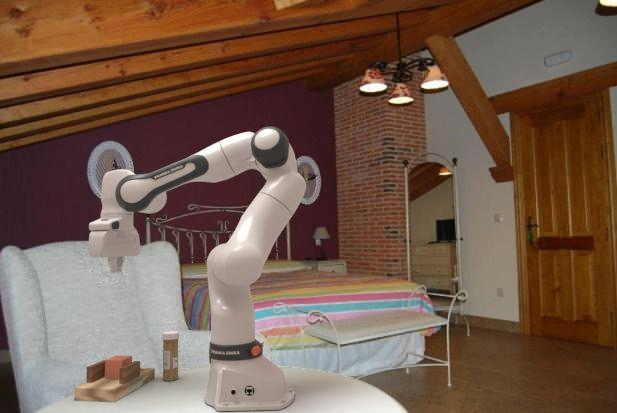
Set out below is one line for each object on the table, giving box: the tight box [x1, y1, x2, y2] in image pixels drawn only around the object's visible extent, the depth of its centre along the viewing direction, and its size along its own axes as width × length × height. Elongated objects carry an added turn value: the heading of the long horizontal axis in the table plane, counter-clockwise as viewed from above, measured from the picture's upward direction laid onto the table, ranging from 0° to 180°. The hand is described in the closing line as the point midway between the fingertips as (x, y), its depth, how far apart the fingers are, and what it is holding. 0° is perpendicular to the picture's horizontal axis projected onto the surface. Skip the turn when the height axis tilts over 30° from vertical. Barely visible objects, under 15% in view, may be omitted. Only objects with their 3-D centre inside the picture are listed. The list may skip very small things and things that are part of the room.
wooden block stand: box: [74, 359, 156, 403], centre depth 125 cm, size 11×20×7 cm, turn 170°
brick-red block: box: [104, 355, 133, 379], centre depth 126 cm, size 5×5×5 cm
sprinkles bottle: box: [162, 330, 180, 382], centre depth 133 cm, size 5×5×13 cm
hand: (116, 272), depth 132 cm, fingers closed
